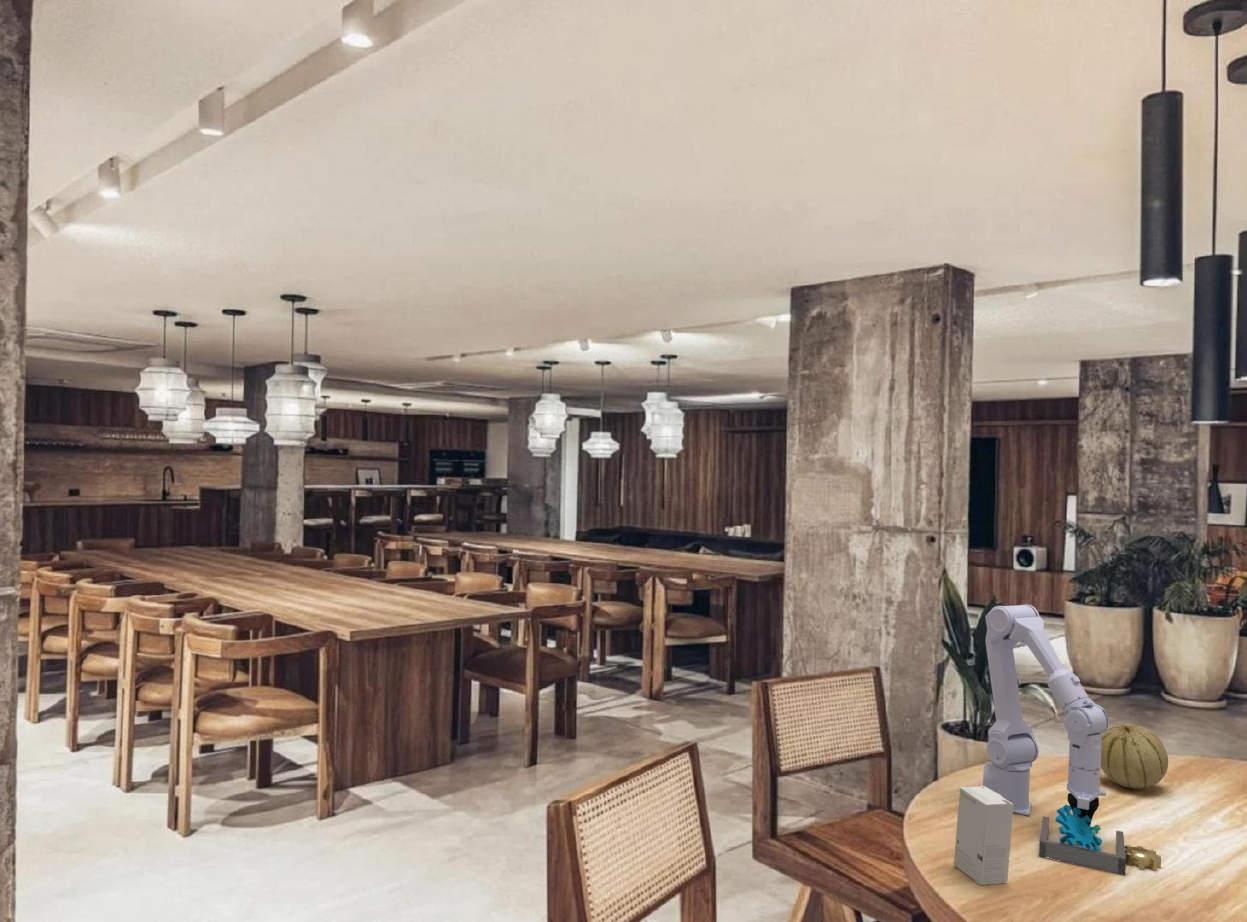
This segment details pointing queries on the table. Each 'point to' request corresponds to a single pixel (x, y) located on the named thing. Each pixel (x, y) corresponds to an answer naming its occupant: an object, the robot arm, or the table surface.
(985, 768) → the robot arm
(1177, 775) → the table surface
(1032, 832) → the table surface
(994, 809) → the skincare box
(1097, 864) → the bracket
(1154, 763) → the cantaloupe
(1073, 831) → the gear
